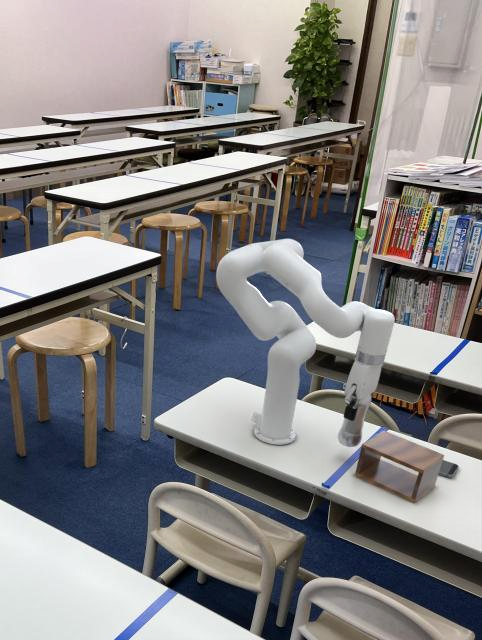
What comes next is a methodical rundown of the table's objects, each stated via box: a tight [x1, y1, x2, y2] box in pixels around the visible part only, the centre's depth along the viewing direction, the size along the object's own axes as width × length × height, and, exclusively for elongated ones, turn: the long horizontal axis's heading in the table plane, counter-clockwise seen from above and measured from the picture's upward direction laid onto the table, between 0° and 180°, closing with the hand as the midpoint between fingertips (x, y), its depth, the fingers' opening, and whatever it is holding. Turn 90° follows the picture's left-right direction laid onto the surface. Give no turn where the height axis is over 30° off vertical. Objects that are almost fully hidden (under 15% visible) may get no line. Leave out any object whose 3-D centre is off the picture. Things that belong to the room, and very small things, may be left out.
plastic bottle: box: [337, 394, 372, 448], centre depth 195 cm, size 6×7×20 cm
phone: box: [438, 459, 459, 479], centre depth 202 cm, size 8×1×16 cm
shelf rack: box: [354, 430, 445, 504], centre depth 191 cm, size 18×12×10 cm, turn 44°
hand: (355, 415), depth 196 cm, fingers closed on plastic bottle, 6 cm apart
